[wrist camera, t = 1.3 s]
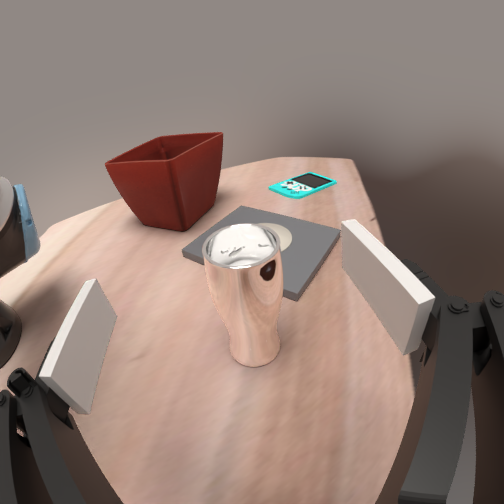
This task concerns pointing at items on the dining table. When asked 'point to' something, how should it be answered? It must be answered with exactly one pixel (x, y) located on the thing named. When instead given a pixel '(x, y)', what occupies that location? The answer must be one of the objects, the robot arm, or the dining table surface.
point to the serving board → (281, 245)
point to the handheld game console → (302, 185)
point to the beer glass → (247, 288)
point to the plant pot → (170, 178)
